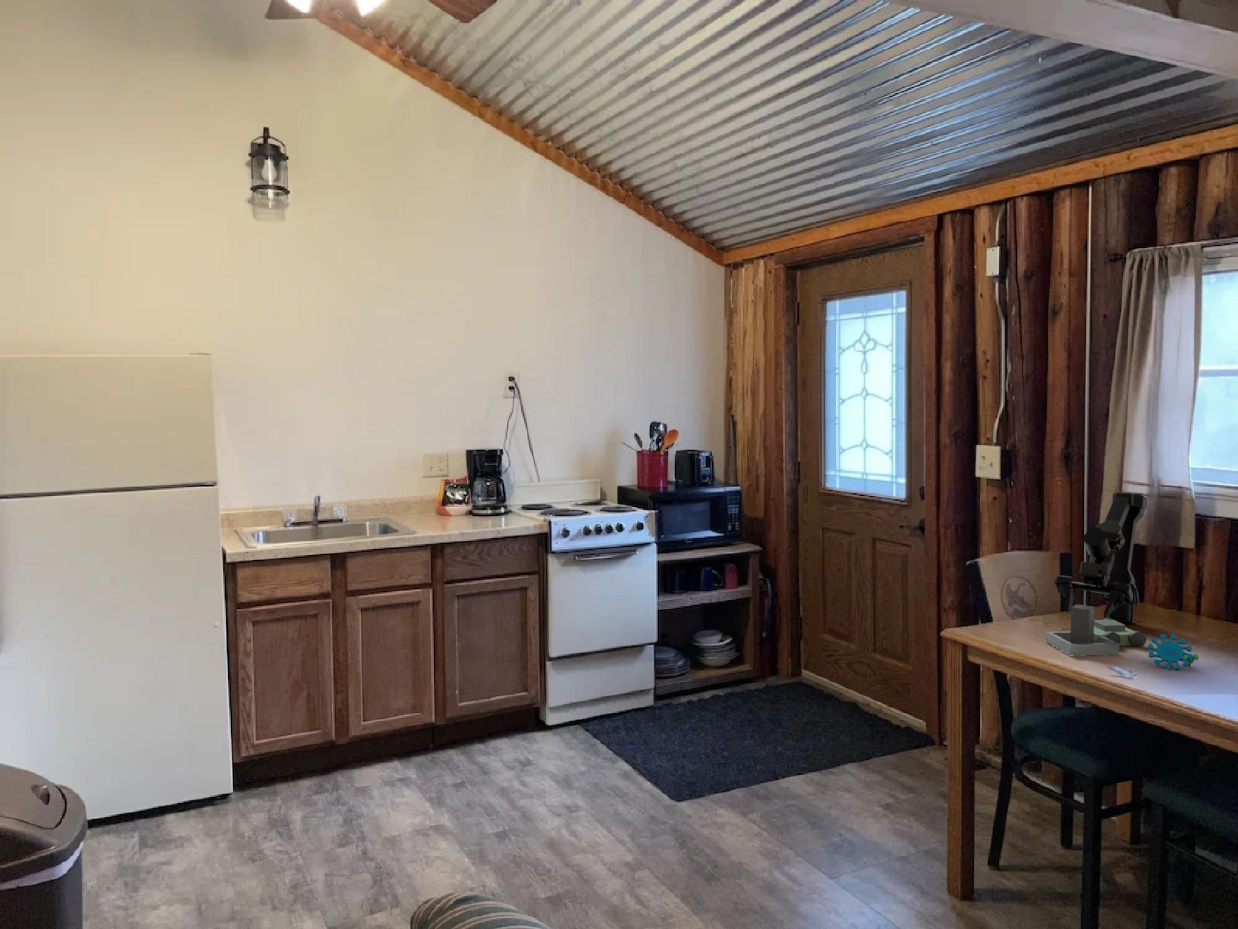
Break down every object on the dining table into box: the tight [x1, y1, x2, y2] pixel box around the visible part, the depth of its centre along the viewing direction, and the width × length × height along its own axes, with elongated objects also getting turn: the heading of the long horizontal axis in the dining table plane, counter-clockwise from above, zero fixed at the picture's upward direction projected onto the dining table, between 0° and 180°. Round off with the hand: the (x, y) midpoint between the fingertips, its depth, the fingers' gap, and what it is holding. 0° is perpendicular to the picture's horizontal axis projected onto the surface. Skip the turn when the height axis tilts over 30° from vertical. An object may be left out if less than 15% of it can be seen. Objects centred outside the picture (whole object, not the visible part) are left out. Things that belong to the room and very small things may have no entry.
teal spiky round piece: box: [1146, 633, 1199, 671], centre depth 238 cm, size 11×6×10 cm
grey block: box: [1070, 604, 1096, 644], centre depth 253 cm, size 4×4×11 cm
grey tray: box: [1045, 630, 1121, 657], centre depth 253 cm, size 13×13×3 cm
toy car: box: [1093, 618, 1147, 648], centre depth 262 cm, size 12×16×4 cm
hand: (1086, 614), depth 254 cm, fingers open, 9 cm apart
